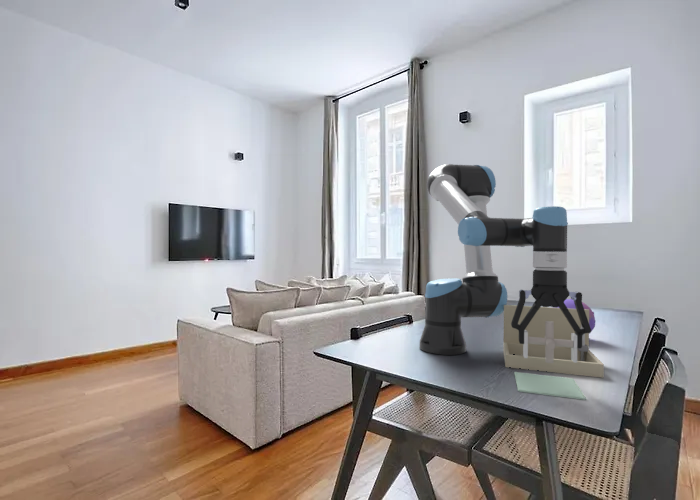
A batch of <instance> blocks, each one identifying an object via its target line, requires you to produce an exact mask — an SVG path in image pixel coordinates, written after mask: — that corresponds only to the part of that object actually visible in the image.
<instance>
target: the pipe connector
mask: <svg viewBox="0 0 700 500" xmlns="http://www.w3.org/2000/svg"><path fill="white" fill-rule="evenodd" d="M528 344H537V345H545V362H547V363H554V349H555V347H556V346H558V347H569V348H573V340H563V339H554V322H552V321H545V337H544V338H540V337H528Z"/></svg>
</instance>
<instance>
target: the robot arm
mask: <svg viewBox="0 0 700 500" xmlns="http://www.w3.org/2000/svg"><path fill="white" fill-rule="evenodd" d="M496 185H497V181H496V176H495V174H494V172H493V170H492V169H491V168H489V167H488V166H486V165H479V164H473V165H471V164H454V163H449V164H443V165H440V166H438V167H436V168H434V170H433V171H432V172H431V173H430V174H429V176H428V179H427V182H426V189H427V191H428V193H429V195H430V196H431V197H432V199H433V200H434V201H437V202H439V203H440V204H441V205H442V206H443V208H444V209H445V210H446V211H447V213H448V214H449V215H450V216H451V218H452V219H454V221H455V222H456V223H457V225H458V226H457V236H458V240H459V242H460V243H461V244H463V248H464V259H465V271H466V273H465V274H464V276H463V277H462V278H458V277H457V278H456V277H455V278H454V277H453V278H452V277H451V278H448V277H447V278H439V279H434V280H431V281H429V282H427V284H426V286H425V294H424V297H425V300H424V301H425V303H424V307H425V310H424V312H425V313H424V314H425V315H424V316H425V317H424V320H425V321H424V328H423V330H422V333H421V336H420V339H419V349H420V350H421V351H423V352H426V353H429V354H433V355H434V354H435V355H442V356H454V355H455V356H456V355H462V354H464V353H466V352H467V342H466V340H465V336H464V333H463V328H462V318H484V319H485V318H492V317H494V318H495V317H498V316H500V315H501V314H502V313H504V305H508V303H507V302H508V290H507V288H506V285H505V284H504V283H502V282H500V281H499V276H498V275H497V274H496V273H495V272H494V271H493V261H492V260H493V259H492V253H491V252H492V251H491V247H492V246H496V247H498V246H500V247H504V246H505V247H516V248H520V247H521V248H524V247H532V267H533V268H535V269H534V270H533V271H532V287H531V289H528V290H527V289H526V290H525V289H520V290H519V291H518V294H519V295H518V297H519V299H518V301H517V302H518V303H517V307H516V310H515V313H514V316H513V319H512V322H511V326H512V328H515V329H517V330H519V343H520V344H523V355H522V356H524V358H528V332H527V330H525V329H526V327H527V326H528V324H529V323H530V321H531V320H532V318H533V317H534V315H535V314H536V312H537V311H538V310H539V309H540V307H556V308H557V307H559V308H560V309H561V311H562V312H563V314H564V316H565V317H566V319H567V320H568V322H569V323H570V325H571V327H572V328H573V330H574V331H575V333H571V340H573V348H571V360H572V361H573V362H574V363H577V348H582V335H583V334H586V333H590V332H591V333H592V331H591V328H590V325H589V322H588V319H587V316H586V313H585V310H584V307H583V304H582V302H583V293H582V292H580V291H569V289H568V272H567V271H566V270H565V269H567V268H568V226H569V222H568V214H567V213H568V212H567V209H566V208H565V207H564V206H555V205H554V206H552V205H551V206H540V207H536V208H534V210H533V211H532V217H529V218H514V217H513V218H511V217H510V218H507V217H505V218H504V217H503V218H502V217H489V216H488V209H487V204H488V203H490V201H491V198H492V197H493V195H494V194H495V192H496V187H497V186H496ZM530 295H531V296H532V298H534V302H533V304H532V307H531V309H530V310H529V312H528V313H527V315H526V316H525V318H524V319H523V321H522V322H521V324H518V322H519V319H520V316H521V313H522V310H523V307H524V306H525V304H526V301H527V300H528V299H529V297H530ZM568 297H570V299H572V300H573V301H574V304H575V307H576V310H577V313H578V316H579V319H580V322H581V325H582V328H580V327H579V326H578V324H577V323H576V321H575V320H574V318H573V317H572V315H571V313H570V312H569V310H568V309H567V307H566V305H565V304H564V301H565V300H566V299H568ZM591 333H590V334H591Z"/></svg>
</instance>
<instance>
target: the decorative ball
mask: <svg viewBox="0 0 700 500" xmlns="http://www.w3.org/2000/svg"><path fill="white" fill-rule="evenodd" d="M564 304H565V305H566V307H567V308H570V309H576V307H575V304H574V301H573V300H572V299H571V298H567V299H566V300H565V301H564ZM582 304H583V307H584V309H587V310H589V325H590V328H591V332H590V333H589V335H590V334H591V333H592V331H593V330H594V329H595V327H596V317H595V312H594V311H593V310H592V309H591V307H589V305H587V304H586V303H585V302H583V301H582ZM552 308H556V307H552ZM557 308H559V307H557Z"/></svg>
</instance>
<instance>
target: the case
mask: <svg viewBox="0 0 700 500" xmlns="http://www.w3.org/2000/svg"><path fill="white" fill-rule="evenodd" d="M516 307H517V305H514V304H513V305H512V304H506V305H504V311H503V341H502V342H503V346H502V347H503V351H502V352H503V353H502V354H503V359H504V365H505V366H504V367H505V368H509V367H511V369H519V368H521V369H520V370H528V369H529V370H530V371H537V370H539V372H546V371H547V373H548V372H549V373H556V374H557V373H558V374H567V375H574V376H586V377H594V378H602V379H603V378H604V375H605V373H604V368H605V367H604V366H605V364H604V363H603V362H602V361H601V360H600V359H599V358H598V357H597V356H596V355H595V354H594V353H593V352H592V351H591V350H590V349H589V347H590V345H589V344H590V334H589V333H586V334H583V335H582V348H577V363H574V362H573V361H572V360H571V348H569V347H558V346H556V347H555V349H554V363H547V362H545V345H537V344H528V358H524V356H523V344H520V343H519V330H517V329H515V328H512V326H511V322H512V319H513V316H514V313H515V310H516ZM531 307H532V306H531V305H530V306H529V305H524V307H523V310H522V313H521V316H520V319H519V322H518V324H521V322H522V321H523V319H524V318H525V316H526V315H527V313H528V312H529V310H530V309H531ZM567 309H568V310H569V312H570V313H571V315H572V317H573V318H574V320H575V321H576V323H577V324H578V326H579V327H580V328H582V325H581V322H580V319H579V316H578V313H577V310H576V309H570V308H567ZM584 310H585V313H586V316H587V319H588V322H589V310H587V309H584ZM545 321H552V322H554V339H563V340H571V333H575V331H574V330H573V328H572V327H571V325H570V323H569V322H568V320H567V319H566V317H565V316H564V314H563V312H562V311H561V309H560V308H552V307H551V306H550V307H543V306H541V307H540V309H539V310H538V311H537V312H536V314H535V315H534V317H533V318H532V320H531V321H530V323H529V324H528V326H527V327H526V329H525V330H527V332H528V337H540V338H544V337H545ZM513 354H515V355H513Z"/></svg>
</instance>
